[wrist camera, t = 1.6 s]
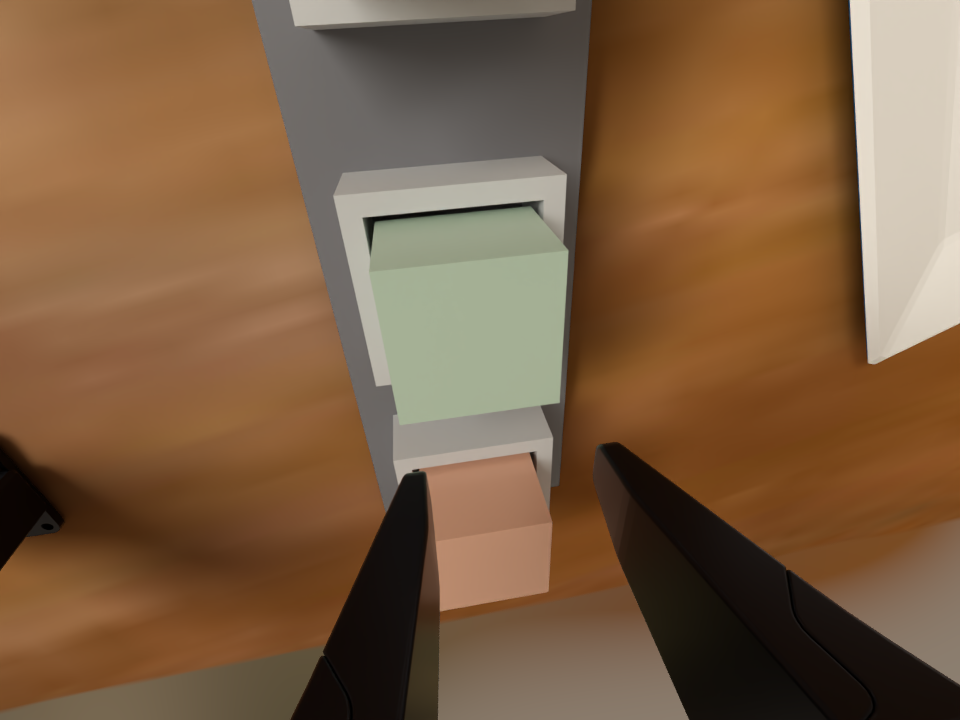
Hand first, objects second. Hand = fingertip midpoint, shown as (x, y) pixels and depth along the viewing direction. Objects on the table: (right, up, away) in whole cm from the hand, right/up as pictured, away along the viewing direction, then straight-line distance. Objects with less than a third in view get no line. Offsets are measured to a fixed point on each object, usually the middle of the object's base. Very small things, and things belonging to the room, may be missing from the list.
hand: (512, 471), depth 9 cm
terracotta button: (-1, -4, +13) cm, 14 cm away
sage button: (-1, +5, +7) cm, 9 cm away
